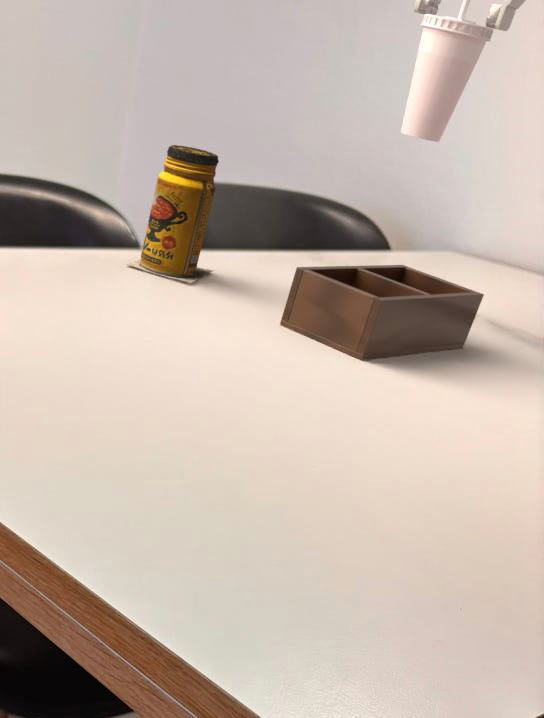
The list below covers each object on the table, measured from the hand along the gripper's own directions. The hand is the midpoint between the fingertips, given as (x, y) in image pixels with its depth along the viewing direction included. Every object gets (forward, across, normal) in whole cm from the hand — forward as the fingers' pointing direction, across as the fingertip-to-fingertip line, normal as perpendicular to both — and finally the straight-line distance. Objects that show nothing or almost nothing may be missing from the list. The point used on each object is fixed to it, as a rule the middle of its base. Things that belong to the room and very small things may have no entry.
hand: (458, 21), depth 96 cm
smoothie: (+10, 0, 0) cm, 10 cm away
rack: (+27, -4, +3) cm, 28 cm away
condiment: (+28, +18, +10) cm, 34 cm away
